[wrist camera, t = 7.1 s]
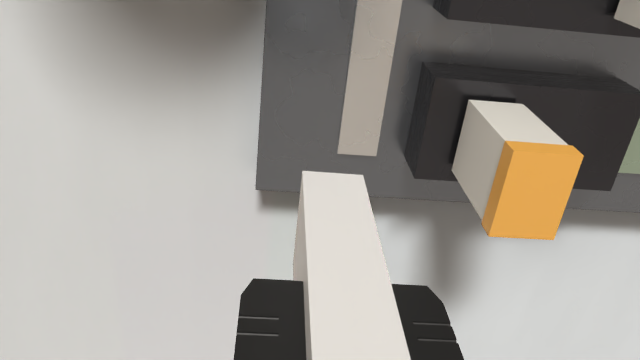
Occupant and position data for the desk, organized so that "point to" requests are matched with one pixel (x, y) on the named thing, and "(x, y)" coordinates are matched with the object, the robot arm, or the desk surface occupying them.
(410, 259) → the desk surface
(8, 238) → the desk surface
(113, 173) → the desk surface
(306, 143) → the panel
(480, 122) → the block
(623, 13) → the block
